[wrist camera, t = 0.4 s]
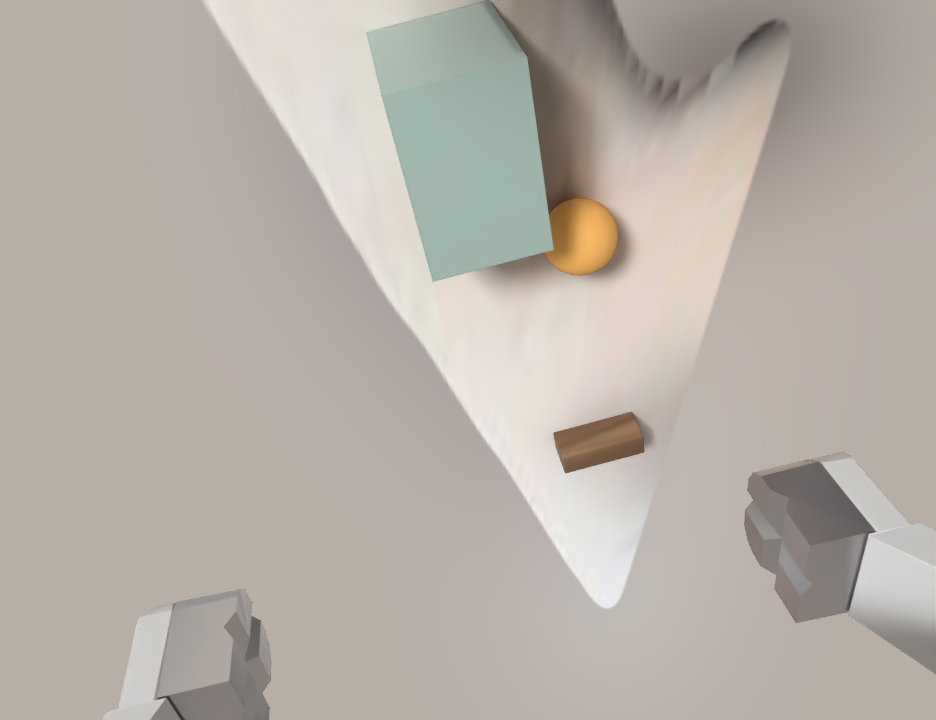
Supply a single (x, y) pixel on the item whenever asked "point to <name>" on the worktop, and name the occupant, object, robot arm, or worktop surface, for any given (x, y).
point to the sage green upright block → (465, 137)
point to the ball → (581, 236)
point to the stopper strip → (599, 442)
